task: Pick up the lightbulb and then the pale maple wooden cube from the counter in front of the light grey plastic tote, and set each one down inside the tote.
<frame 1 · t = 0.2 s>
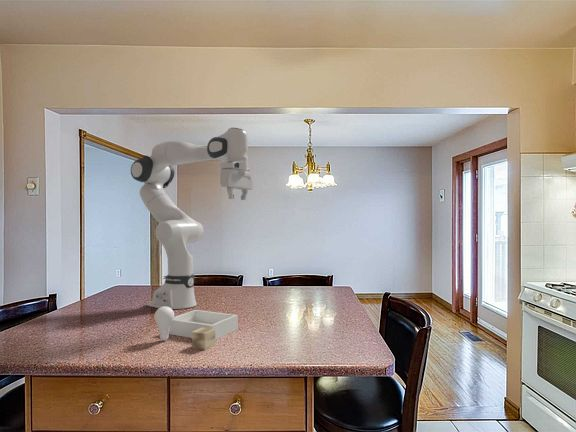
hand: (237, 199, 159), 48 cm above the worktop, fingers open, 8 cm apart
maple cube: (203, 346, 117), on the worktop
lightbulb: (164, 341, 122), on the worktop
tote: (203, 331, 132), on the worktop
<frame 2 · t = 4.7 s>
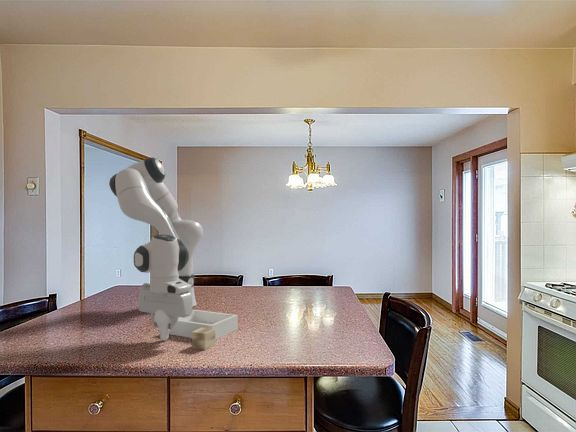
hand: (164, 327, 122), 4 cm above the worktop, fingers closed on lightbulb, 5 cm apart
lightbulb: (164, 341, 122), on the worktop, touching gripper
everything else where it was.
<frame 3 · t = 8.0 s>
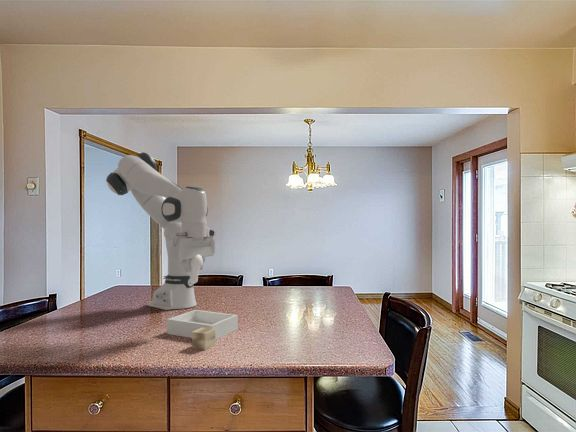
hand: (193, 271, 134), 21 cm above the worktop, fingers closed on lightbulb, 5 cm apart
lightbulb: (193, 284, 134), point 16 cm above the worktop, touching gripper
everything else where it was.
when the fingers open (7 cm above the worktop, at t = 11.2 s): lightbulb moves 2 cm, resting on tote.
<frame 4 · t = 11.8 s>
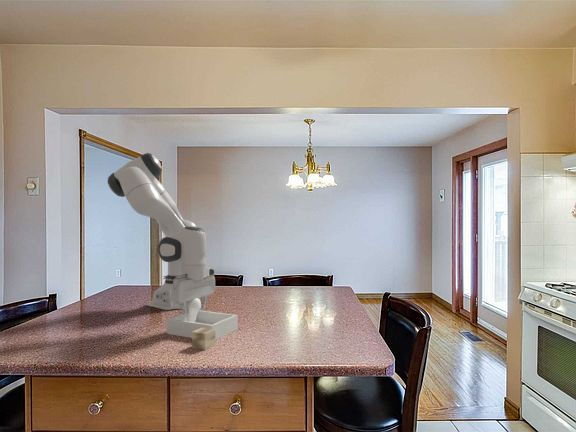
hand: (193, 311, 134), 7 cm above the worktop, fingers open, 8 cm apart
lightbulb: (190, 328, 133), point 1 cm above the worktop, touching gripper, tote
everything else where it was.
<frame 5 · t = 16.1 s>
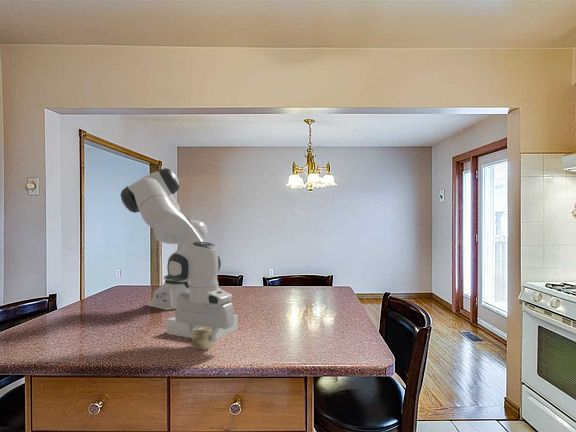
hand: (203, 339, 117), 2 cm above the worktop, fingers closed on maple cube, 5 cm apart
maple cube: (203, 346, 117), on the worktop, touching gripper
lightbulb: (187, 326, 131), point 2 cm above the worktop, touching tote
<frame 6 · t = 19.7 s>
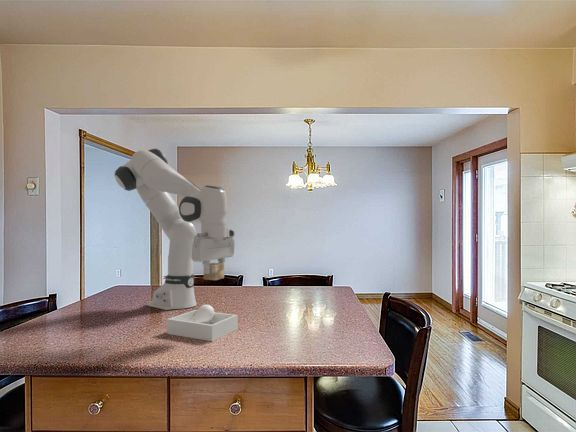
hand: (213, 272, 131), 21 cm above the worktop, fingers closed on maple cube, 5 cm apart
maple cube: (213, 278, 131), point 19 cm above the worktop, touching gripper
everything else where it was.
when the fingers open (4 cm above the worktop, at t = 23.3 s): maple cube stays where it is, resting on tote.
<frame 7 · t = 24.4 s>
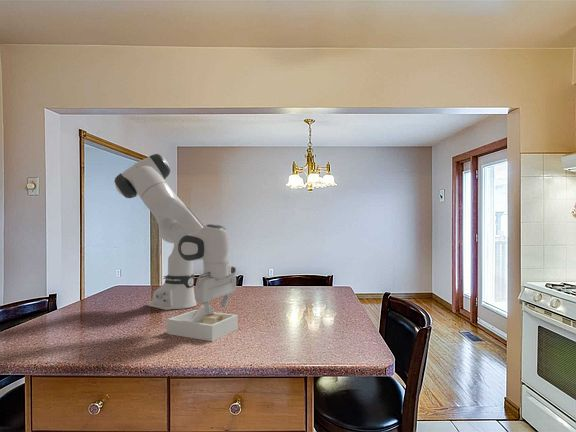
hand: (216, 309, 133), 7 cm above the worktop, fingers open, 8 cm apart
maple cube: (213, 330, 131), point 1 cm above the worktop, touching tote
everything else where it was.
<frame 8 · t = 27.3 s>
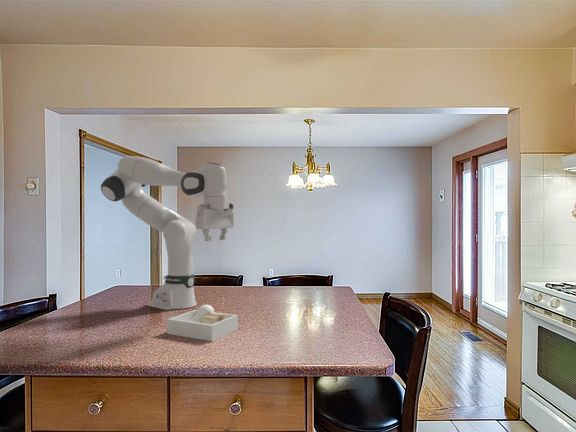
hand: (215, 240, 146), 31 cm above the worktop, fingers open, 8 cm apart
nothing on the worktop moved.
at the end: lightbulb inside the target area on the tote (5.2 cm from its centre), point 2.1 cm above the tote's base; maple cube inside the target area on the tote (4.5 cm from its centre), point 1.0 cm above the tote's base; the gripper is holding nothing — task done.
